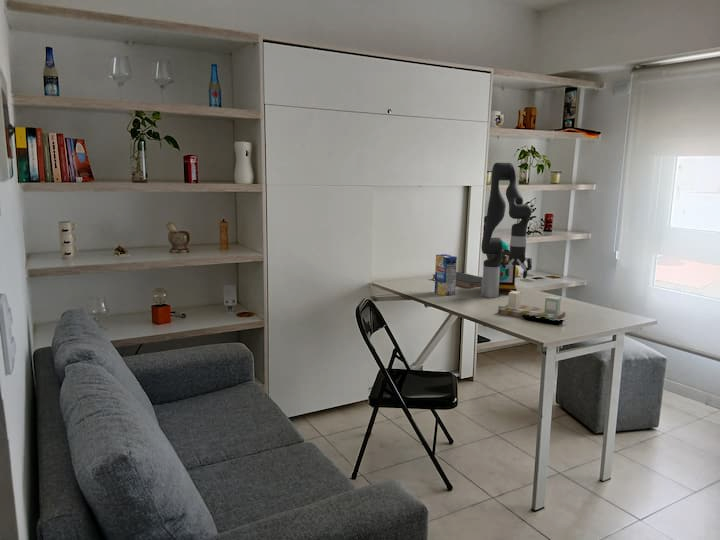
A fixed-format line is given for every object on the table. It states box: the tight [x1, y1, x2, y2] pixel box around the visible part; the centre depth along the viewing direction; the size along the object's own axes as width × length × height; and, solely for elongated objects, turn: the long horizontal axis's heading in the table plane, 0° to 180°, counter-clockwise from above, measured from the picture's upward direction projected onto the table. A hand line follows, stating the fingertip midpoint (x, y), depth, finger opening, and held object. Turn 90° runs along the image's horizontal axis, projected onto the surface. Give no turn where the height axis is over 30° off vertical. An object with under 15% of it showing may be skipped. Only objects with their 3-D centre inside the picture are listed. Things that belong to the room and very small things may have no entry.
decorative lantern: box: [485, 240, 519, 291], centre depth 326 cm, size 20×20×30 cm
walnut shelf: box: [497, 304, 566, 320], centre depth 275 cm, size 28×16×4 cm, turn 53°
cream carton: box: [507, 290, 522, 309], centre depth 280 cm, size 6×4×8 cm
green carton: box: [544, 295, 562, 316], centre depth 269 cm, size 6×4×8 cm
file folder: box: [432, 271, 483, 289], centre depth 355 cm, size 33×4×24 cm
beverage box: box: [434, 253, 458, 297], centre depth 318 cm, size 7×11×22 cm, turn 26°
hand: (516, 277), depth 278 cm, fingers open, 8 cm apart
